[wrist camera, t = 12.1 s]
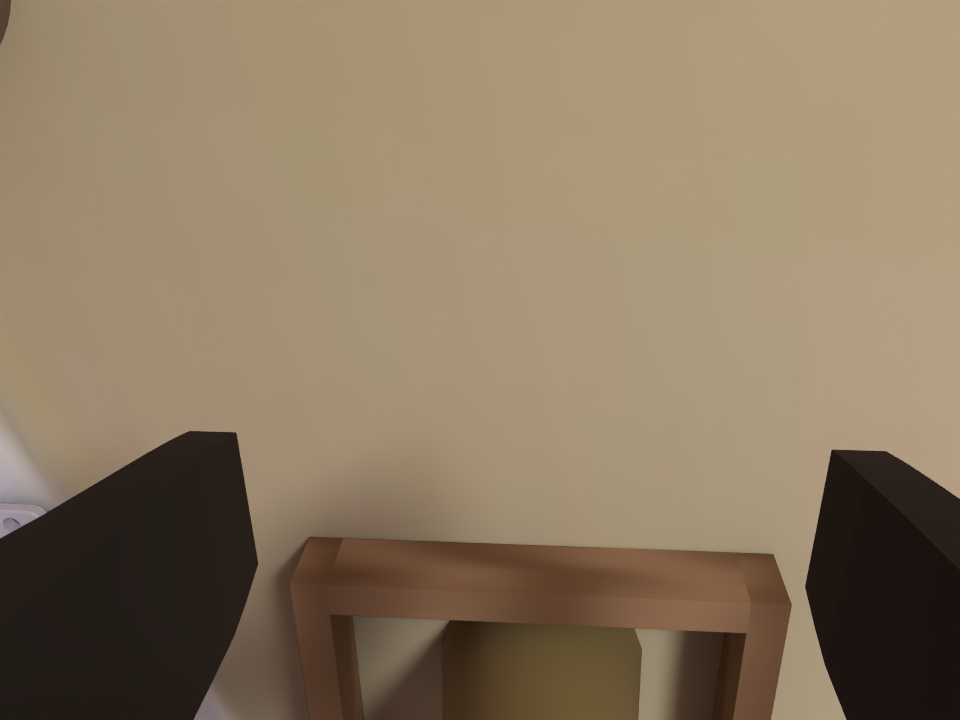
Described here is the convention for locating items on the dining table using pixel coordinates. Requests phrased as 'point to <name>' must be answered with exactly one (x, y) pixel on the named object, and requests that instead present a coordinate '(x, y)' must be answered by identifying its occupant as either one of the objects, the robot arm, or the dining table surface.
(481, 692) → the cork
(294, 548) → the dining table surface
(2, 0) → the grey rounded piece
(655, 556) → the walnut collar block
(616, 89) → the dining table surface
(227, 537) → the robot arm
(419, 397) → the dining table surface
